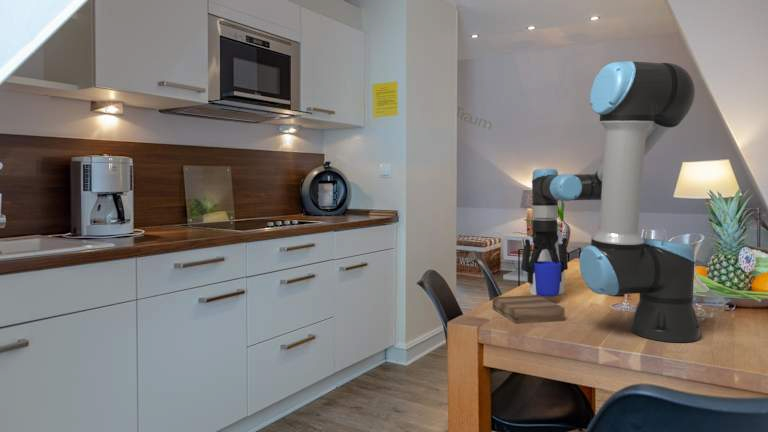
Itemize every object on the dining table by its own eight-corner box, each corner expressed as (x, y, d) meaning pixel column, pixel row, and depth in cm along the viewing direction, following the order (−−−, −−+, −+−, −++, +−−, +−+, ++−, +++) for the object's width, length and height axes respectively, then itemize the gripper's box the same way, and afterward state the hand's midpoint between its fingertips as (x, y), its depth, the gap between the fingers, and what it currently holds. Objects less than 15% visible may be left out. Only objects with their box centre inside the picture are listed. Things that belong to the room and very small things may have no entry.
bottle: (535, 289, 186) (536, 202, 183) (558, 289, 186) (559, 202, 184) (544, 295, 178) (546, 203, 175) (568, 294, 178) (570, 203, 176)
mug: (555, 290, 173) (555, 259, 173) (564, 298, 161) (564, 264, 161) (529, 290, 174) (529, 259, 174) (535, 297, 162) (535, 264, 162)
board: (564, 320, 146) (564, 307, 146) (515, 323, 144) (515, 310, 143) (537, 306, 162) (537, 295, 162) (492, 309, 159) (492, 297, 159)
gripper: (568, 218, 172) (567, 289, 173) (509, 219, 169) (509, 292, 170) (580, 219, 165) (580, 294, 166) (519, 220, 161) (519, 297, 162)
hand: (544, 293), depth 168 cm, fingers closed on mug, 7 cm apart
